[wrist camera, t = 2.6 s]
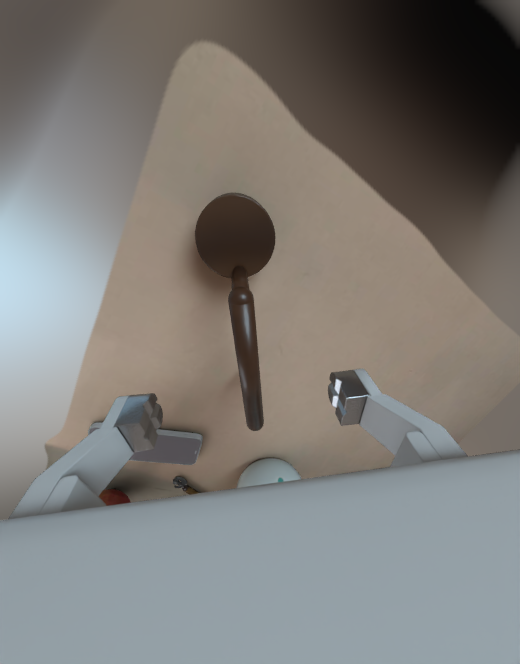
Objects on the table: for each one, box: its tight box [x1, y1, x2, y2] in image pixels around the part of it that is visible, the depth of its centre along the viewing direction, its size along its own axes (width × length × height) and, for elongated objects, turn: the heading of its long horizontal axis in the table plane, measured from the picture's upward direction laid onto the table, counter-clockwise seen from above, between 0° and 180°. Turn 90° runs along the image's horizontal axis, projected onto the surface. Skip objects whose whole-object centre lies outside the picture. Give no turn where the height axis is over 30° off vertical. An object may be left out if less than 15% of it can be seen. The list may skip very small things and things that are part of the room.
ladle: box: [195, 193, 275, 431], centre depth 20 cm, size 19×6×9 cm, turn 3°
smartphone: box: [88, 422, 202, 465], centre depth 34 cm, size 7×1×15 cm
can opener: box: [173, 477, 199, 495], centre depth 42 cm, size 9×2×1 cm, turn 18°
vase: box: [236, 458, 301, 488], centre depth 34 cm, size 12×12×18 cm
